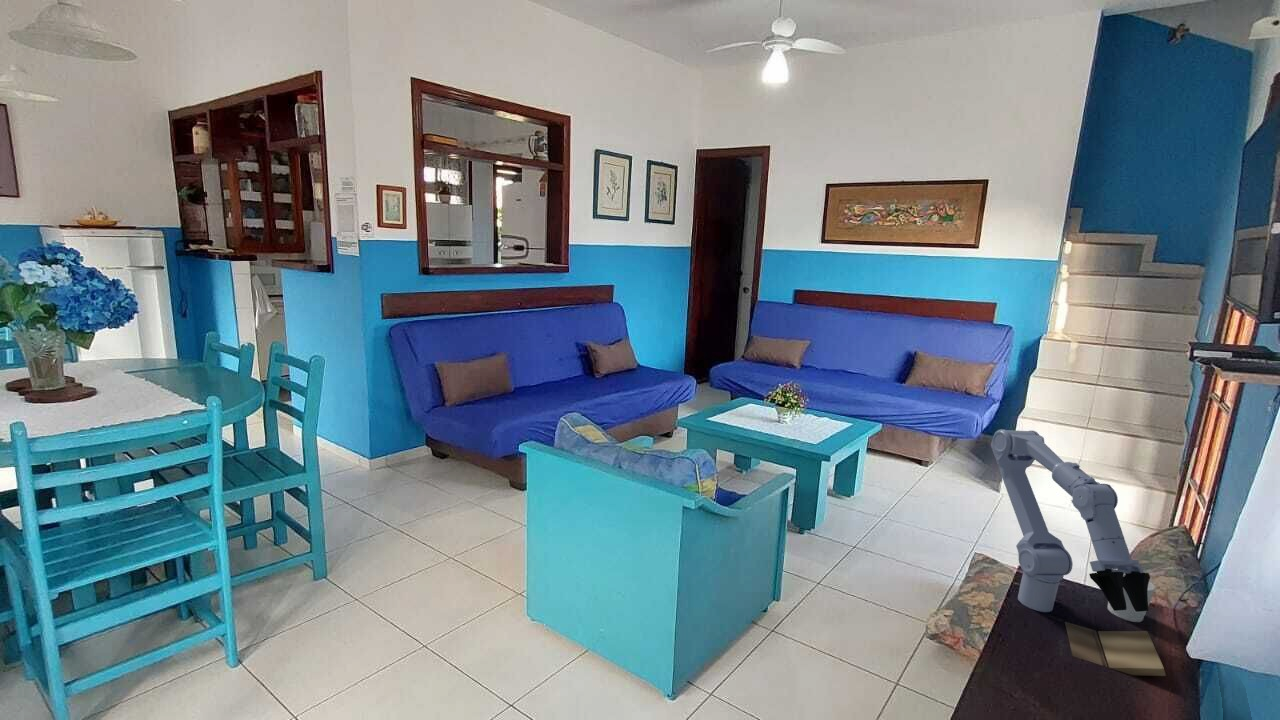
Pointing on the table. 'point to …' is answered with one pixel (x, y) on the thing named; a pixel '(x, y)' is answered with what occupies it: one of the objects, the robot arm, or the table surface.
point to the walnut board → (1085, 644)
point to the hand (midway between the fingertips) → (1131, 610)
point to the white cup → (1130, 611)
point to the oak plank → (1131, 652)
